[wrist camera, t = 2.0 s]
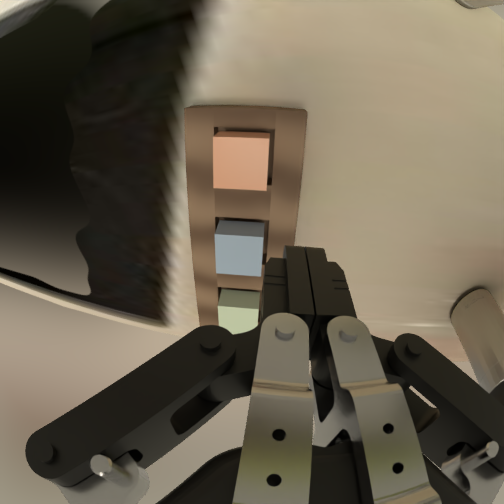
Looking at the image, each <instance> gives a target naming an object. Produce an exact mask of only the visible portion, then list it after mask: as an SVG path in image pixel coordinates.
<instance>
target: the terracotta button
mask: <svg viewBox="0 0 504 504" xmlns="http://www.w3.org/2000/svg"><path fill="white" fill-rule="evenodd" d="M269 141H270V133H260V132H235V131H219V132H218V133H217V134H216V135H214V136H213V188H222V189H243V190H260V191H266V190H267V177H268V159H269Z"/></svg>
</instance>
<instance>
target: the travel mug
mask: <svg viewBox="0 0 504 504" xmlns="http://www.w3.org/2000/svg"><path fill="white" fill-rule="evenodd" d="M456 1H457V2H458V3H459V4H461V5H462V6H464V7H466V8H469V9H476V8H481V7H487V6H494V5H501V4H504V0H456Z"/></svg>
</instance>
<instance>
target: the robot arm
mask: <svg viewBox="0 0 504 504" xmlns="http://www.w3.org/2000/svg"><path fill="white" fill-rule="evenodd" d="M348 289H349V288H348V284H347V282H346V278H345V274H344V271H343V270H342V269H341V268H340V266H339V265H338V264H337V263H336V262H327V258H326V254H325V250H324V249H323V248H313V247H301V246H289V245H285V246H284V251H283V258H274V257H270V259H269V260H268V261H267V263H266V264H265V267H264V276H263V285H262V294H261V315H260V323H259V324H258V325H257V326H256V327H255V328H254V329H252V330H250V331H247V332H243V333H238V334H232V333H231V332H230V331H229V330H227V329H226V328H223V327H221V326H218V325H204V326H200V327H198V328H196V329H194V330H193V331H191V332H190V333H188V334H187V335H185V336H184V337H183V338H181V339H180V340H179V341H177V342H175V343H174V344H172V345H171V346H169V347H168V348H166V349H165V350H163V351H162V352H160V353H159V354H157V355H156V356H154V357H153V358H151V359H150V360H148V361H147V362H145V363H144V364H142V365H141V366H139V367H138V368H136V369H135V370H133V371H132V372H130V373H129V374H127V375H126V376H124V377H122V378H121V379H119V380H118V381H116V382H115V383H113V384H112V385H110V386H109V387H107V388H105V389H104V390H102V391H101V392H99V393H98V394H96V395H95V396H93V397H91V398H90V399H88V400H86V401H85V402H83V403H82V404H80V405H78V406H77V407H75V408H74V409H72V410H70V411H69V412H67V413H66V414H64V415H62V416H61V417H59V418H57V419H56V420H54V421H52V422H51V423H49V424H47V425H46V426H44V427H43V428H41V429H39V430H38V431H36V432H34V433H33V434H32V435H31V436H30V438H29V439H28V441H27V444H26V450H25V452H26V458H27V462H28V464H29V466H30V467H31V469H32V470H33V471H34V472H35V473H36V474H38V475H39V476H41V477H43V478H45V479H47V480H49V481H51V482H53V483H54V484H56V485H57V486H58V487H59V489H60V490H61V492H62V493H63V494H64V496H65V498H66V499H67V500H68V502H69V504H137V503H138V501H139V500H140V499H141V498H142V497H143V496H144V495H145V494H146V493H147V491H148V489H149V477H148V474H147V472H146V470H145V469H146V468H147V467H149V466H150V465H151V464H153V463H154V462H156V461H157V460H158V459H160V458H161V457H162V456H164V455H165V454H166V453H168V452H169V451H170V450H172V449H173V448H174V447H176V446H177V445H178V444H180V443H181V442H182V441H183V440H185V439H186V438H187V437H188V436H190V435H191V434H192V433H194V432H195V431H196V430H197V429H199V428H200V427H201V426H202V425H204V424H205V423H206V422H207V421H208V420H209V419H211V418H212V417H213V416H214V415H216V414H217V413H218V412H219V411H220V410H221V409H223V408H224V407H225V406H226V405H227V404H228V403H230V401H231V400H232V399H235V398H240V397H244V396H249V395H251V397H250V404H249V410H248V416H247V422H246V429H245V435H244V440H243V446H242V447H238V448H234V449H231V450H228V451H225V452H223V453H221V454H219V455H217V456H215V457H213V458H212V459H210V460H209V461H207V462H206V463H205V464H204V465H202V466H201V467H200V468H199V469H198V470H197V471H196V472H194V473H193V474H192V475H191V476H190V477H188V478H187V479H186V480H185V481H184V482H183V483H181V484H180V485H179V486H178V487H176V488H175V489H174V490H173V491H171V492H170V493H169V494H168V495H166V496H165V497H164V498H163V499H161V500H160V501H159V502H157V503H156V504H492V502H493V500H494V499H495V497H496V495H497V493H498V491H499V489H500V487H501V485H502V483H503V481H504V314H503V312H502V310H501V309H500V307H499V306H498V304H497V303H496V301H495V300H494V298H493V297H492V295H491V294H490V292H489V291H488V290H486V289H478V290H475V291H473V292H471V293H469V294H468V295H467V296H465V297H464V298H463V299H462V300H461V301H460V302H459V303H458V304H457V306H456V307H455V309H454V310H453V313H452V315H451V323H452V325H453V327H454V329H455V331H456V333H457V335H458V337H459V339H460V341H461V343H462V346H463V348H464V350H465V352H466V354H467V357H468V359H469V361H470V363H471V366H472V368H473V370H474V373H475V375H476V378H477V380H478V382H479V384H477V383H476V382H475V381H474V380H472V379H471V378H470V377H469V376H468V375H467V374H466V373H464V372H463V371H462V370H461V369H459V368H458V367H457V366H456V365H455V364H453V363H452V362H451V361H450V360H449V359H447V358H446V357H445V356H444V355H442V354H441V353H440V352H439V351H437V350H436V349H435V348H434V347H432V346H431V345H430V344H429V343H427V342H426V341H425V340H424V339H422V338H421V337H419V336H417V335H415V334H410V333H405V334H402V335H400V336H398V337H397V338H396V340H395V341H394V342H392V341H389V340H385V339H381V338H378V337H375V336H373V335H371V334H370V332H369V329H368V328H367V326H366V325H365V324H364V323H363V322H362V321H360V320H359V319H357V316H356V312H355V309H354V305H353V302H352V298H351V295H350V291H349V290H348ZM309 360H311V371H310V374H309ZM410 386H413V387H414V388H415V389H416V390H417V391H418V392H420V393H421V394H422V395H423V396H424V397H425V398H426V399H428V400H429V401H430V402H431V403H432V404H433V405H435V406H436V407H437V408H433V407H431V406H429V405H428V404H427V403H426V402H424V401H423V400H422V399H421V398H420V397H419V396H417V395H416V394H415V393H414V392H413V391H412V390H411V389H409V387H410ZM309 388H310V389H309ZM313 414H314V421H315V433H314V438H313V445H312V437H313ZM426 456H427V457H428V458H429V459H430V460H431V461H432V462H434V463H435V464H436V465H437V466H438V467H440V468H441V470H440V469H439V468H438V467H437V466H435V465H434V464H433V463H432V462H431V461H430V460H429V459H428V458H427V457H426Z"/></svg>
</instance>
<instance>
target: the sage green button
mask: <svg viewBox="0 0 504 504" xmlns="http://www.w3.org/2000/svg"><path fill="white" fill-rule="evenodd" d="M259 299H260V292H251V291H238V290H225V289H222V290H221V294H220V298H219V303H218V319H219V326H221V327H223V328H226V329H227V330H229V331H230V332H231V333H232V334H238V333H243V332H247V331H250V330H252V329H254V328H255V327H256V326H257V325H258V314H259Z"/></svg>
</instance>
